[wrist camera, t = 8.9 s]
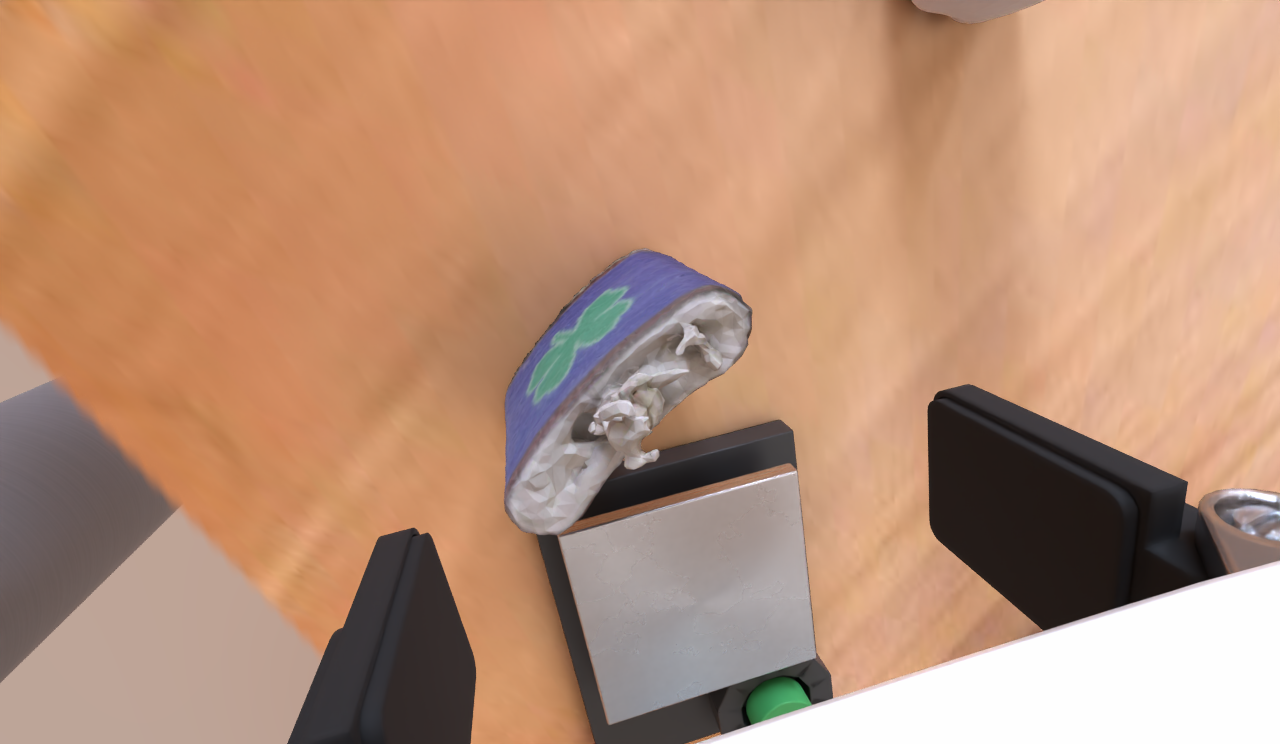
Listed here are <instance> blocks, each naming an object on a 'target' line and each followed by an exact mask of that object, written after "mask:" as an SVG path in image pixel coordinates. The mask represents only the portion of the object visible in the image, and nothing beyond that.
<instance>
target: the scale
mask: <svg viewBox="0 0 1280 744" xmlns="http://www.w3.org/2000/svg"><path fill="white" fill-rule="evenodd" d="M624 462H625V461H622V462H621V464H620V465H619V466H618V467H617V468H616V469H615V470H614V471H613V472H612V473H611V474H610V476H609V477H608V479H607V480H606V481H605V483H604V484H603V486H602V487H601V489H600V491H599V492H598V494H597V495H596V496H595V498H594V499H593V501H592V503H591V504H590V506H589V507H588V509H587V510H586V512H585V513H584V515H583V516H582V517H581V518H580V519H579V520H583V519H586V518H590V517H594V516H597V515H601V514H605V513H608V512H612V511H616V510H619V509H623V508H626V507H630V506H634V505H637V504H641V503H645V502H648V501H652V500H656V499H659V498H663V497H667V496H670V495H674V494H677V493H681V492H685V491H688V490H692V489H696V488H699V487H703V486H707V485H710V484H714V483H718V482H721V481H725V480H729V479H732V478H736V477H739V476H743V475H747V474H750V473H754V472H758V471H761V470H765V469H769V468H772V467H776V466H780V465H783V464H787V463H790V464H791V465H792V466H793V467H794V468H795V469H796V470H797V463H796V454H795V444H794V435H793V430H792V429H790V428H789V427H788V426H787V425H786V424H785V423H784V422H782V421H781V420H777V421H773V422H769V423H765V424H762V425H758V426H754V427H750V428H746V429H743V430H739V431H735V432H731V433H727V434H724V435H720V436H716V437H712V438H708V439H705V440H701V441H697V442H693V443H689V444H686V445H682V446H678V447H674V448H670V449H667V450H663V451H659V457H658V459H657V460H656V461H655V462H649V463H646V464H644V465H643V466H642V467H640V468H637V469H635V470H633V469H627V468H626V467H625V466H624ZM579 520H578V521H579ZM536 535H537V534H536ZM537 539H538V542H539V546H540V549H541V553H542V556H543V560H544V563H545V567H546V571H547V574H548V578H549V581H550V585H551V588H552V592H553V595H554V599H555V602H556V606H557V610H558V613H559V617H560V620H561V624H562V627H563V631H564V634H565V638H566V641H567V645H568V649H569V652H570V656H571V659H572V663H573V666H574V670H575V673H576V677H577V680H578V684H579V688H580V691H581V695H582V698H583V702H584V705H585V709H586V712H587V716H588V719H589V723H590V727H591V730H592V734H593V737H594V741H595V744H685V743H688V742H691V741H694V740H697V739H700V738H703V737H706V736H709V735H712V734H715V733H718V732H721V735H722V734H726V733H729V732H732V731H735V730H738V729H741V728H744V727H747V726H750V725H752V724H751V722H750V720H749V718H748V715H747V712H746V704H747V700H748V698H749V696H750V694H751V693H752V691H753V690H754V689H755V688H756V687H757V686H758V685H760V684H761V683H763V682H764V681H766V680H769V679H772V678H775V677H789V678H792V679H794V680H796V681H797V682H798V683H799V684H800V685H801V687H802V689H803V690H804V692H805V694H806V696H807V697H808V699H809V701H810V702H811V704H812V705H814V704H817V703H820V702H823V701H827V700H830V699H833V693H832V682H831V675H830V673H829V671H828V670H827V668H826V667H825V665H824V664H823V662H822V660H821V659H820V657H819V656H818V654H817V653H816V654H817V658H815V659H812V660H809V661H806V662H803V663H799V664H796V665H793V666H790V667H787V668H784V669H781V670H778V671H775V672H772V673H769V674H766V675H763V676H759V677H756V678H753V679H750V680H747V681H744V682H741V683H738V684H735V685H732V686H729V687H726V688H722V689H719V690H716V691H713V692H710V693H707V694H704V695H701V696H698V697H695V698H692V699H689V700H686V701H682V702H679V703H676V704H673V705H670V706H667V707H664V708H661V709H658V710H655V711H652V712H649V713H645V714H642V715H639V716H636V717H633V718H630V719H627V720H624V721H621V722H618V723H615V724H612V725H609V724H608V723H607V719H606V716H605V712H604V708H603V704H602V701H601V697H600V693H599V690H598V686H597V682H596V678H595V675H594V671H593V667H592V663H591V660H590V656H589V652H588V649H587V645H586V641H585V637H584V634H583V630H582V626H581V622H580V619H579V615H578V611H577V608H576V604H575V600H574V596H573V593H572V589H571V585H570V581H569V578H568V574H567V570H566V567H565V563H564V559H563V555H562V552H561V548H560V544H559V540H558V536H556V535H550V534H548V535H537Z"/></svg>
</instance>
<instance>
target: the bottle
mask: <svg viewBox="0 0 1280 744" xmlns="http://www.w3.org/2000/svg"><path fill="white" fill-rule="evenodd" d="M911 1H912V2H913V4H914V5H916V6H917V7H918V8H919V9H920V10H923V11H926V12H931V13H937V14H944V15H947V16H950V17H951V18H952V19H953V20H954V21H957V22H960V23H969V24H973V23H979V22H985V21H988V20H991V19H995V18H998V17H1002V16H1005V15H1008V14H1011V13H1014V12H1017V11H1020V10H1022V9H1025V8H1028V7H1030V6H1033V5H1035V4H1037V3H1040V2H1042V1H1044V0H911Z"/></svg>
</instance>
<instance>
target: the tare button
mask: <svg viewBox="0 0 1280 744" xmlns="http://www.w3.org/2000/svg"><path fill="white" fill-rule="evenodd" d="M811 705H812V704H811V702H810V701H809V699H808V697H807V696H806V694H805V692H804V690H803V689H802V687H801V685H800V684H799V683H798V682H797V681H796V680H794V679H792V678H789V677H775V678H772V679H769V680H766V681H764V682H763V683H761V684H760V685H758V686H757V687H756V688H755V689H754V690H753V691H752V693H751V694H750V696H749V698H748V700H747V704H746V712H747V715H748V718H749V720H750V722H751V724H752V725H753V724H756V723H759V722H762V721H765V720H768V719H771V718H774V717H777V716H780V715H783V714H786V713H789V712H793V711H796V710H799V709H802V708H805V707H808V706H811Z"/></svg>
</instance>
